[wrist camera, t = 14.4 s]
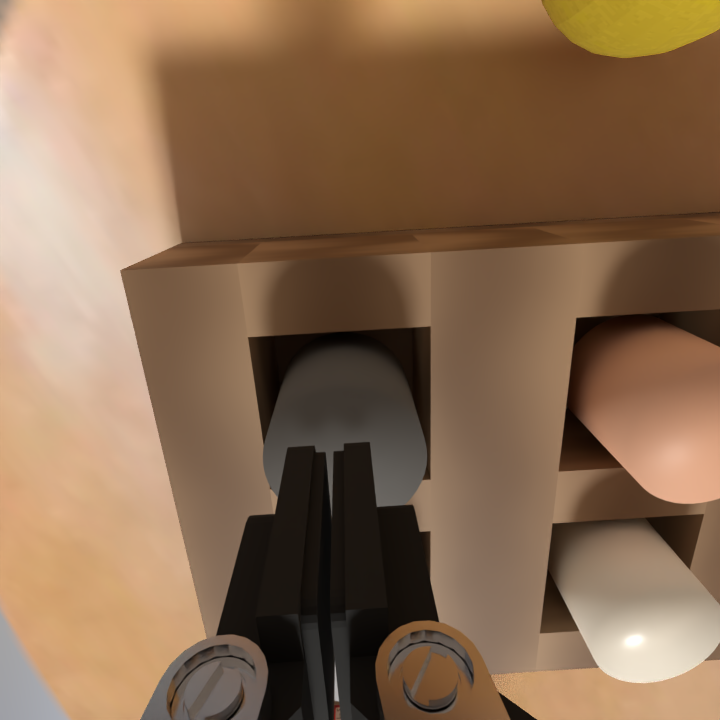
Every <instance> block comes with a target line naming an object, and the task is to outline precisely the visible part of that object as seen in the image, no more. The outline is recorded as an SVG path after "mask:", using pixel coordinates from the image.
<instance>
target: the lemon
mask: <svg viewBox="0 0 720 720" xmlns="http://www.w3.org/2000/svg"><path fill="white" fill-rule="evenodd" d="M542 4H543V6H544V7H545V9H546V11H547V13H548V15H549V16H550V18H551V20H552V22H553V24H554V25H555V26H556V27H557V28H558V29H559V30H560V31H561V32H562V33H563V34H564V35H565V36H566V37H567V38H568V39H569V40H570V41H571V42H572V43H574V44H576V45H578V46H580V47H582V48H584V49H586V50H588V51H589V52H591V53H595V54H600V55H606V56H612V57H618V58H632V57H640V56H647V55H655V54H661V53H665V52H668V51H671V50H674V49H677V48H679V47H681V46H684V45H686V44H689V43H691V42H694V41H696V40H698V39H701V38H703V37H705V36H707V35H710V34H712V33H714V32H715V31H717V30H719V29H720V0H542Z"/></svg>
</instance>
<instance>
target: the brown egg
mask: <svg viewBox="0 0 720 720" xmlns="http://www.w3.org/2000/svg"><path fill="white" fill-rule="evenodd" d="M566 405H567V406H568V408H569V409H570V410H571V412H572V413H573V414H574V415H575V416H576V417H577V418H578V419H579V420H580V421H581V422H582V423H583V424H584V426H585V427H586V428H587V429H588V430H589V431H590V432H591V433H592V434H593V435H594V436H595V437H596V438H597V439H598V440H599V441H600V443H601V444H602V445H603V446H604V447H605V448H606V449H607V450H608V451H609V452H610V453H611V454H612V455H613V456H614V457H615V459H616V460H617V461H618V462H619V463H620V464H621V465H622V466H623V467H624V468H625V469H626V470H627V471H628V472H629V473H630V474H631V476H632V477H633V478H634V479H635V480H636V481H637V482H638V483H639V484H640V485H641V486H642V487H643V488H644V489H645V490H646V491H648V492H649V493H650V494H652V495H654V496H656V497H657V498H660V499H663V500H665V501H669V502H673V503H682V504H695V503H703V502H708V501H713V500H716V499H719V498H720V347H718V346H716V345H714V344H712V343H710V342H708V341H706V340H704V339H701V338H699V337H697V336H695V335H693V334H691V333H689V332H687V331H684V330H682V329H680V328H678V327H676V326H674V325H672V324H670V323H667V322H665V321H663V320H661V319H659V318H657V317H653V316H650V315H644V314H630V315H622V316H618V317H614V318H612V319H609V320H607V321H605V322H603V323H601V324H599V325H597V326H596V327H594V328H592V329H591V330H590V331H589V332H587V333H586V334H585V335H584V336H583V337H582V338H581V339H580V340H579V341H578V342H577V343H576V345H575V346H574V347H573V351H572V360H571V368H570V377H569V386H568V394H567V403H566Z"/></svg>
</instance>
